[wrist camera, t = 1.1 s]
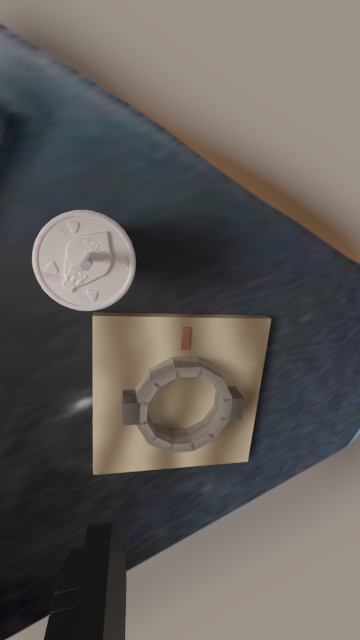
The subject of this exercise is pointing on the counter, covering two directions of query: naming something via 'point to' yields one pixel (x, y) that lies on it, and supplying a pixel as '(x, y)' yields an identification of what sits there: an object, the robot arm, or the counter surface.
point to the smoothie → (84, 260)
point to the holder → (175, 389)
